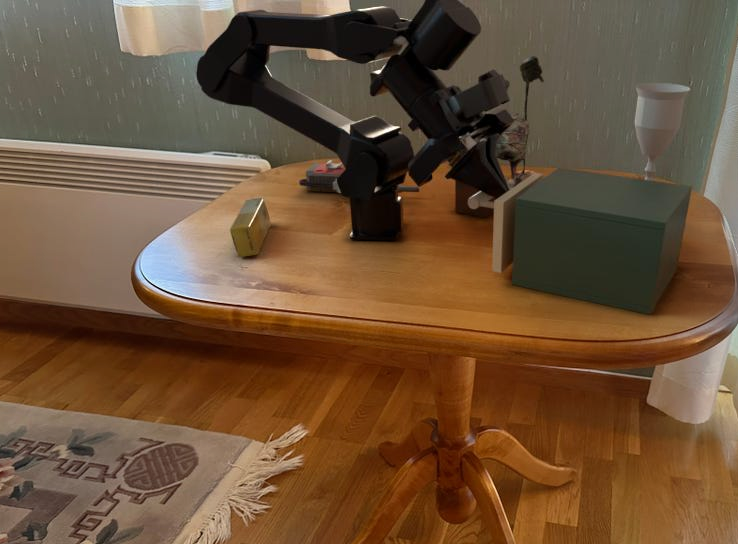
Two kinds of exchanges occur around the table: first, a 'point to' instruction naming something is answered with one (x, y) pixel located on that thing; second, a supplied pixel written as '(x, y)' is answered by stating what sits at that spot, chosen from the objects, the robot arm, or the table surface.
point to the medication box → (250, 227)
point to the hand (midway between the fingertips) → (508, 198)
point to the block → (461, 201)
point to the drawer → (504, 220)
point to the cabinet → (599, 237)
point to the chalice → (658, 118)
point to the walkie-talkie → (332, 178)
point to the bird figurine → (519, 128)
